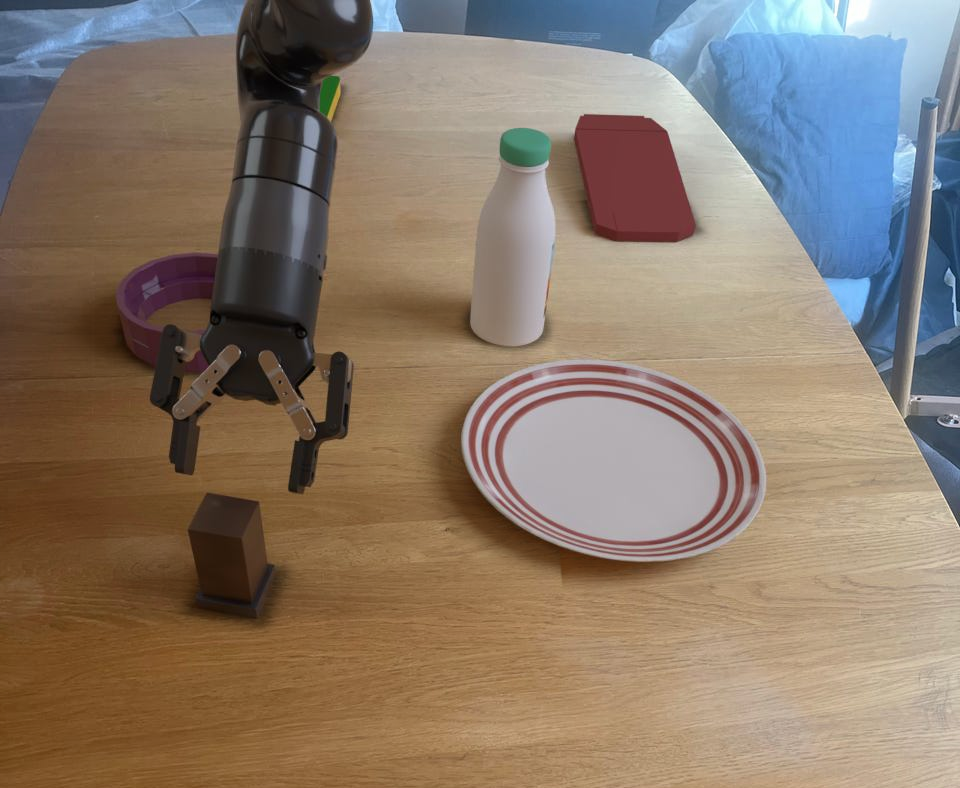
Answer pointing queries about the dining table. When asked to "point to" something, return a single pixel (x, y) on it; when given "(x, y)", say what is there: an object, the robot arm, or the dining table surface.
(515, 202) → the milk bottle
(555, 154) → the dining table surface
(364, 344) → the dining table surface
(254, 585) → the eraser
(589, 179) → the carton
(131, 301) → the ring
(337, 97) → the dish sponge
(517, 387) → the dinner plate
